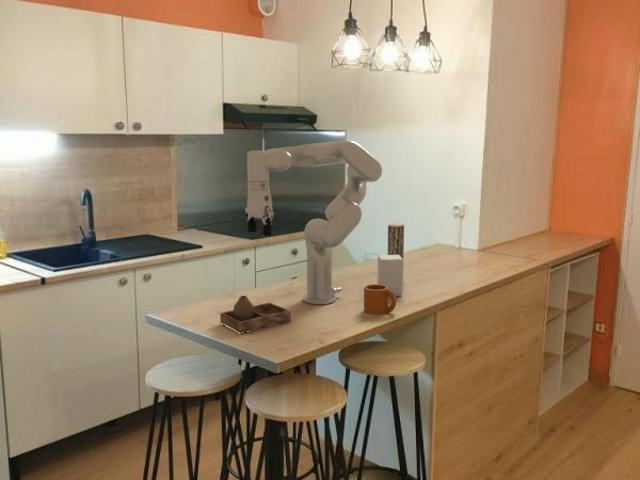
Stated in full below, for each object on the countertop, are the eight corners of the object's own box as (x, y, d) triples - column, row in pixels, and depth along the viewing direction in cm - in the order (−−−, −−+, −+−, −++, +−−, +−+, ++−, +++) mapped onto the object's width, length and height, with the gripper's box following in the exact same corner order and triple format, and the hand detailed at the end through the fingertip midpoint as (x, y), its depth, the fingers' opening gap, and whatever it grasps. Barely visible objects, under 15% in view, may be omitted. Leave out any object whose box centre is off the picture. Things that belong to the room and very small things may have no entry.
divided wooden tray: (269, 313, 220) (269, 302, 219) (290, 322, 210) (290, 310, 209) (220, 324, 208) (220, 313, 207) (240, 334, 198) (240, 322, 197)
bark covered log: (385, 282, 261) (386, 225, 257) (388, 278, 268) (389, 222, 263) (401, 283, 259) (402, 225, 254) (404, 280, 265) (405, 223, 261)
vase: (230, 320, 207) (230, 295, 206) (250, 317, 210) (249, 292, 209) (237, 326, 201) (236, 300, 200) (257, 323, 204) (256, 297, 203)
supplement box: (402, 296, 241) (403, 259, 238) (380, 296, 240) (380, 259, 237) (398, 290, 250) (399, 254, 247) (377, 290, 249) (377, 254, 246)
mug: (386, 318, 214) (386, 293, 212) (359, 311, 222) (358, 287, 220) (400, 311, 221) (400, 287, 219) (373, 305, 228) (373, 282, 227)
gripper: (281, 187, 211) (282, 235, 214) (254, 183, 225) (255, 229, 228) (263, 188, 207) (264, 238, 210) (236, 184, 220) (238, 231, 223)
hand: (259, 233), depth 219 cm, fingers open, 9 cm apart
